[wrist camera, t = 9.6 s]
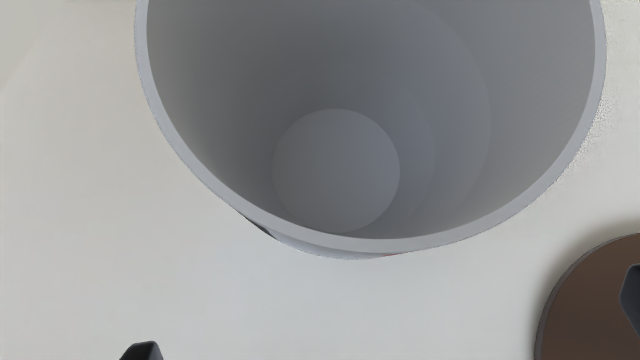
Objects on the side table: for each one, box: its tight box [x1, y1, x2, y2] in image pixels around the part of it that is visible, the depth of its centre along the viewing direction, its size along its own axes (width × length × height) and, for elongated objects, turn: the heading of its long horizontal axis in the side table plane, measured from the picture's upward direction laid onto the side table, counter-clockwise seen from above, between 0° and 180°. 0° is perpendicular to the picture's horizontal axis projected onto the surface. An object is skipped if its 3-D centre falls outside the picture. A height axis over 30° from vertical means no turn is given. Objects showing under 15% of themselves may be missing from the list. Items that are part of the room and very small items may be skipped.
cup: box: [134, 0, 606, 259], centre depth 13 cm, size 8×8×10 cm
